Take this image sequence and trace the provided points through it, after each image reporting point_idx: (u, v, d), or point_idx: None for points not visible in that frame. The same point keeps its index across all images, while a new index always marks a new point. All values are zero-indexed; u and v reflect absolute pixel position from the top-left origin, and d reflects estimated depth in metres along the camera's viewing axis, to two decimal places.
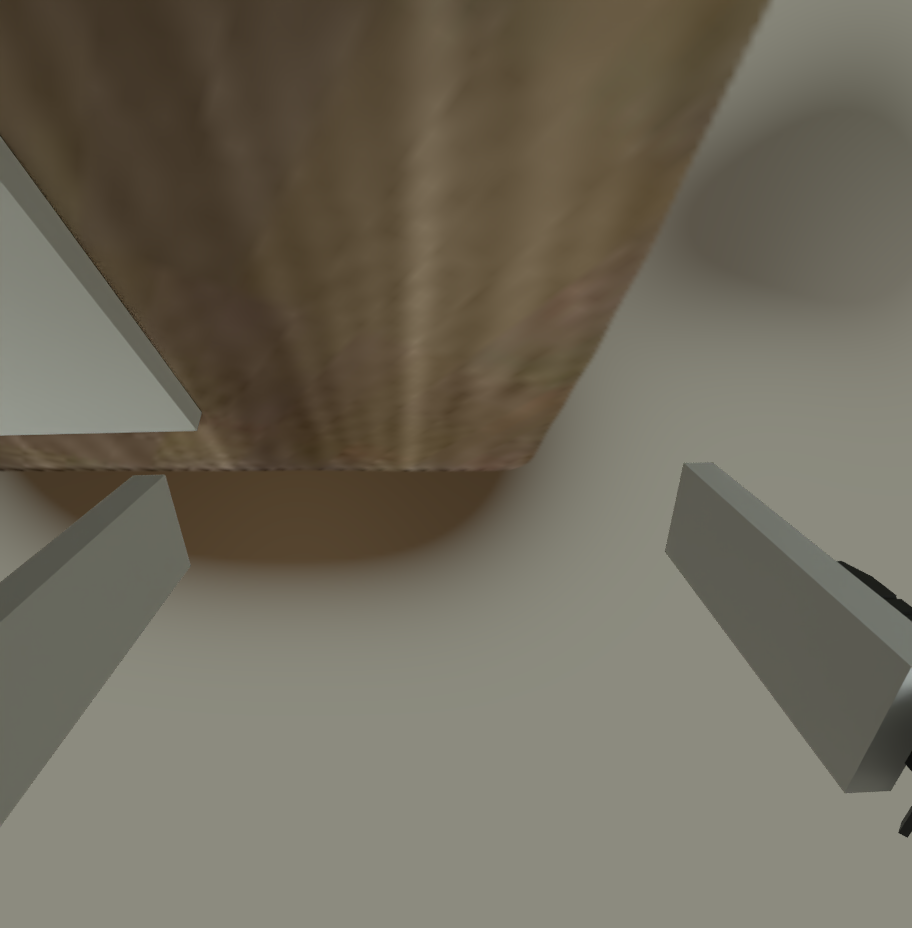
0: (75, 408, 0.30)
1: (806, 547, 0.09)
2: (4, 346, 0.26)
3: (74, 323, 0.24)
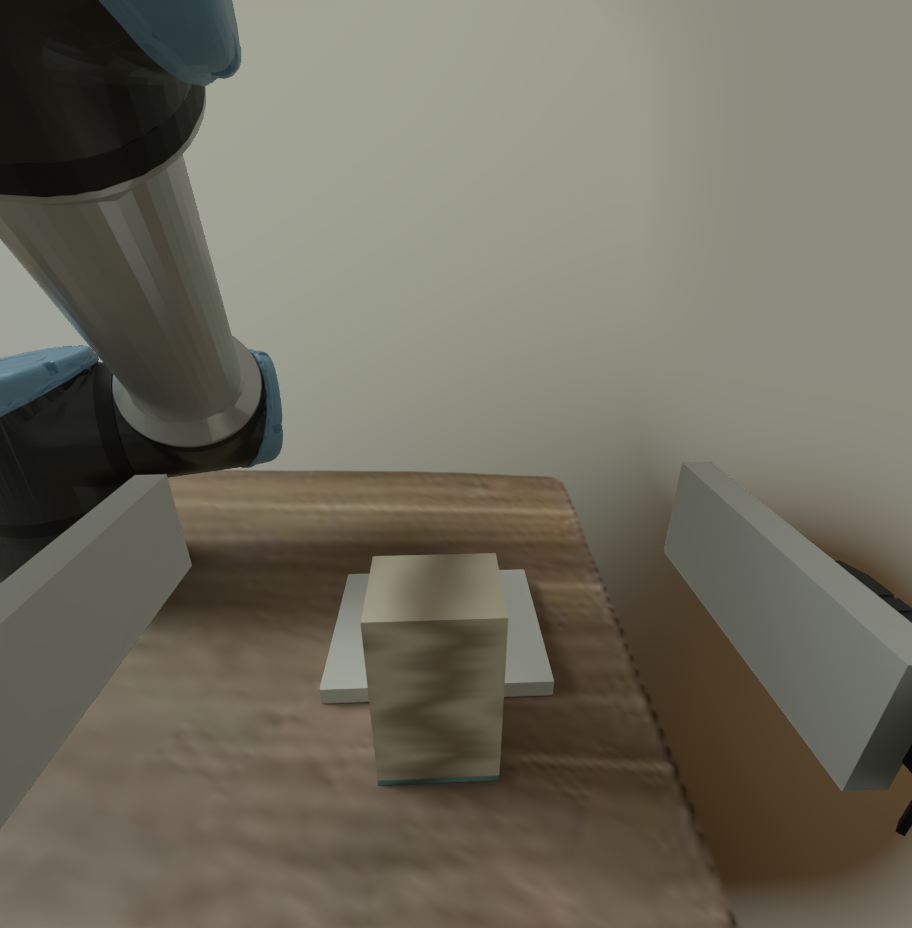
0: None
1: (803, 546, 0.09)
2: None
3: None
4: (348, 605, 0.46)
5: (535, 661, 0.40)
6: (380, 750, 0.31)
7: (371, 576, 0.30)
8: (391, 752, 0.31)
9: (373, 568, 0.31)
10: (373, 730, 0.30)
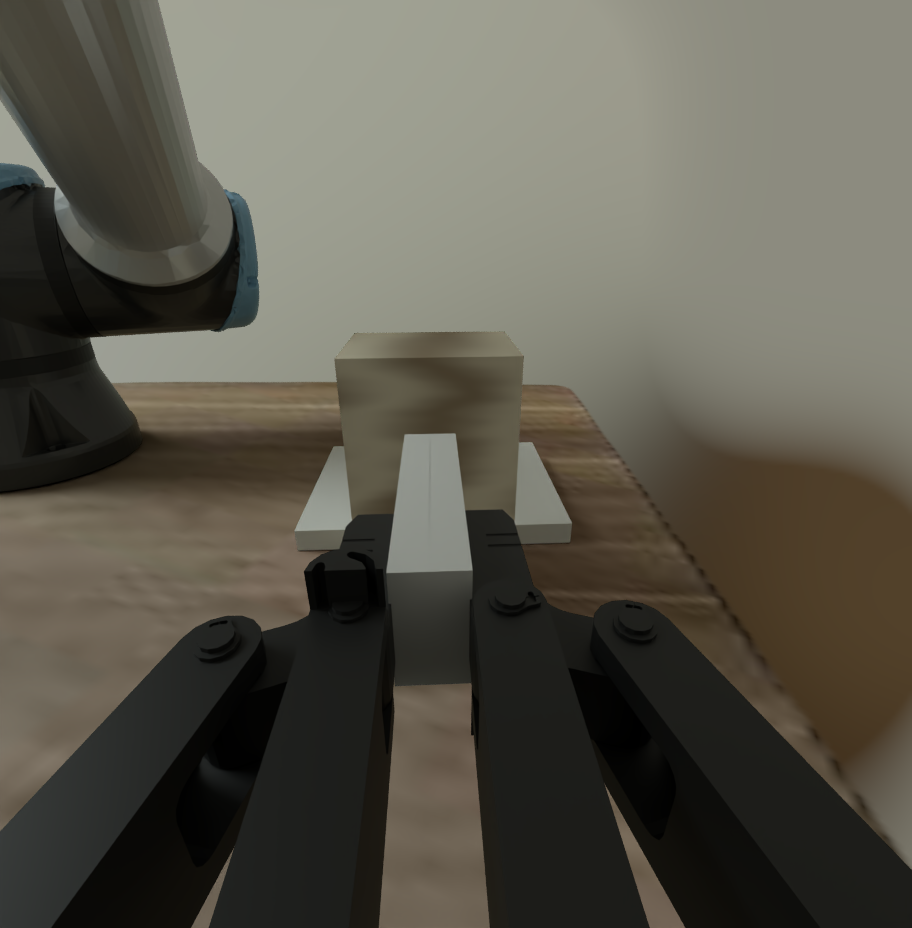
0: None
1: (452, 494, 0.11)
2: None
3: None
4: (332, 468, 0.40)
5: (549, 508, 0.34)
6: None
7: (351, 340, 0.24)
8: None
9: (354, 337, 0.25)
10: None
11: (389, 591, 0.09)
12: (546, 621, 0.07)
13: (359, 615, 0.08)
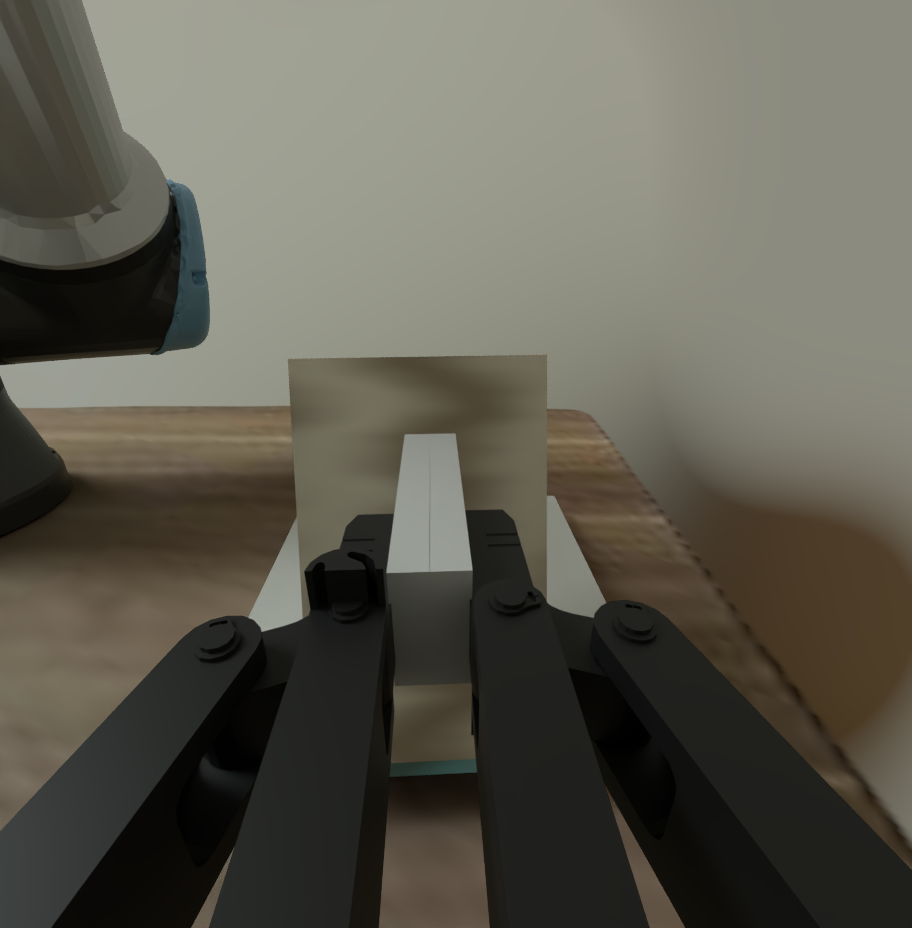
0: None
1: (452, 494, 0.11)
2: None
3: None
4: (297, 539, 0.31)
5: (588, 609, 0.25)
6: None
7: None
8: None
9: None
10: None
11: (389, 591, 0.09)
12: (546, 621, 0.07)
13: (359, 615, 0.08)
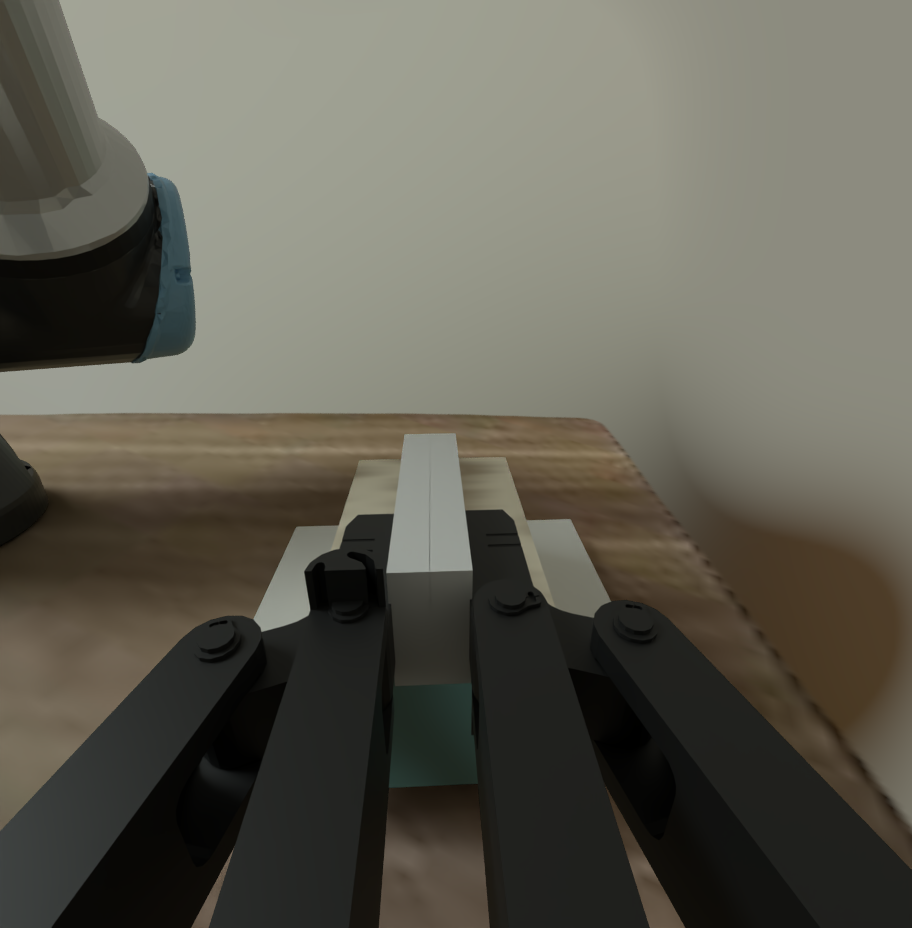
0: (550, 579, 0.27)
1: (452, 494, 0.11)
2: None
3: None
4: (289, 571, 0.28)
5: None
6: None
7: None
8: None
9: None
10: None
11: (390, 591, 0.09)
12: (546, 621, 0.07)
13: (359, 615, 0.08)
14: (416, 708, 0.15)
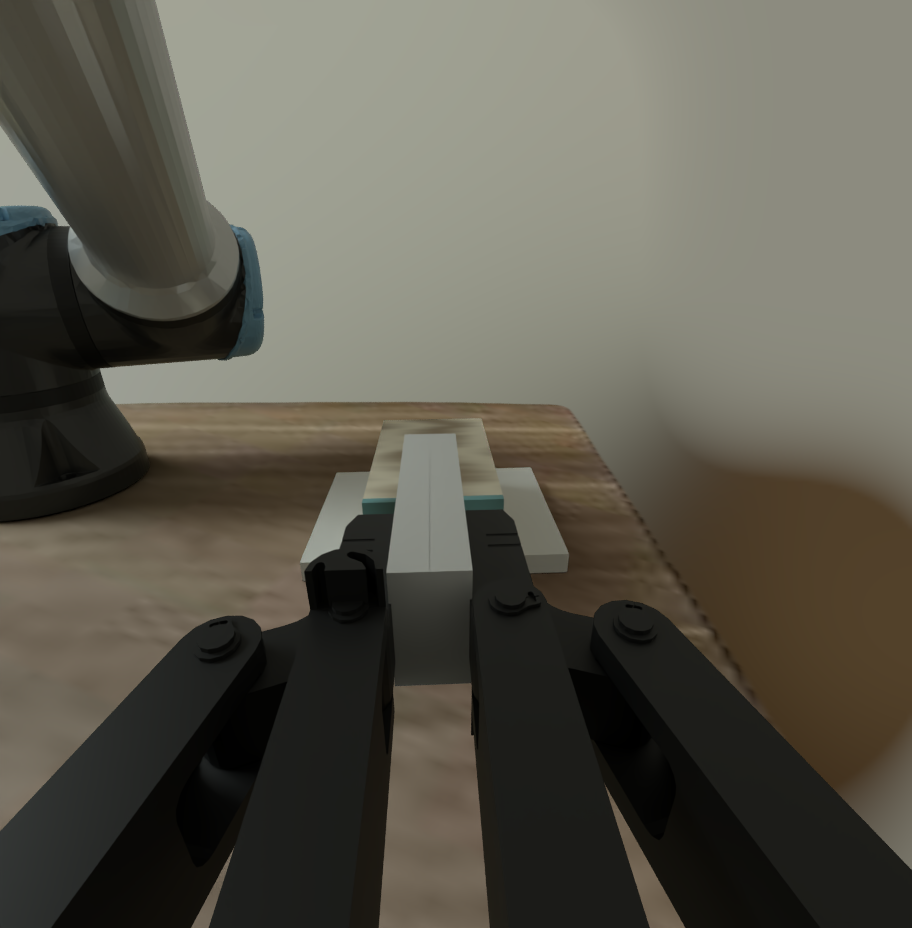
0: (511, 500, 0.40)
1: (452, 494, 0.11)
2: None
3: None
4: (335, 496, 0.41)
5: (546, 538, 0.35)
6: (374, 475, 0.31)
7: None
8: (385, 477, 0.30)
9: None
10: (373, 463, 0.32)
11: (389, 591, 0.09)
12: (546, 621, 0.07)
13: (359, 615, 0.08)
14: None
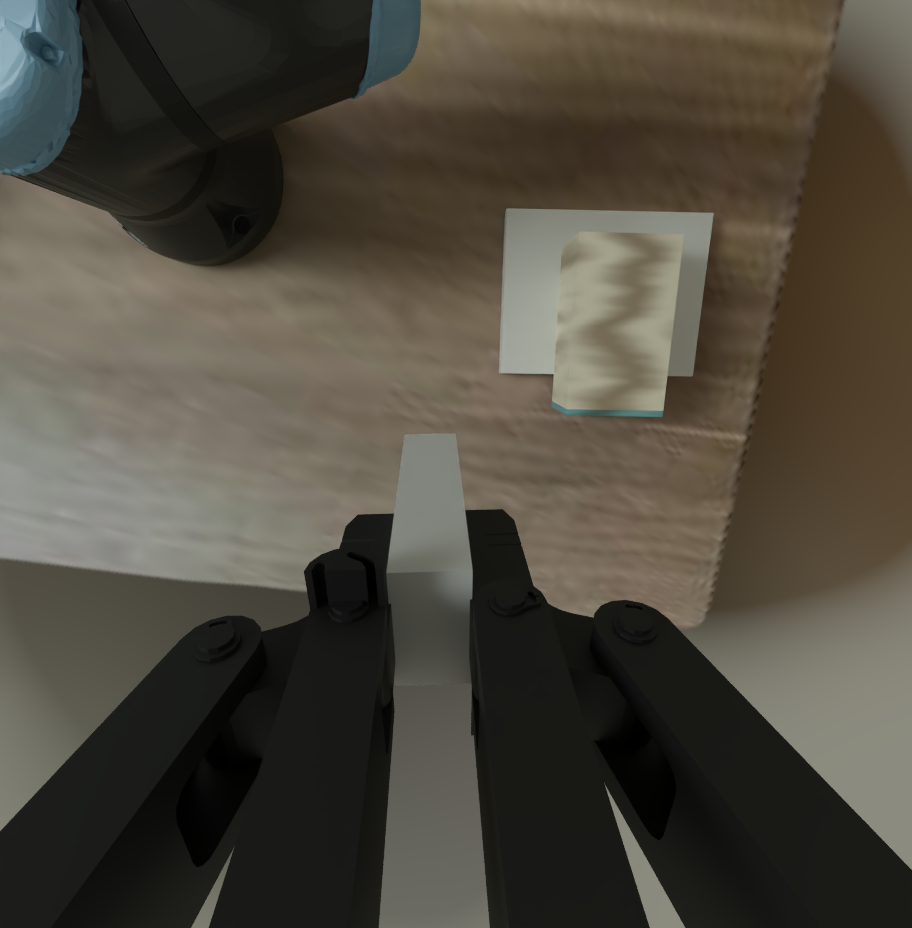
0: None
1: (452, 494, 0.11)
2: None
3: None
4: (512, 266, 0.43)
5: (683, 354, 0.45)
6: (573, 372, 0.40)
7: None
8: (582, 375, 0.40)
9: None
10: (571, 348, 0.39)
11: (389, 591, 0.09)
12: (546, 621, 0.07)
13: (359, 615, 0.08)
14: None
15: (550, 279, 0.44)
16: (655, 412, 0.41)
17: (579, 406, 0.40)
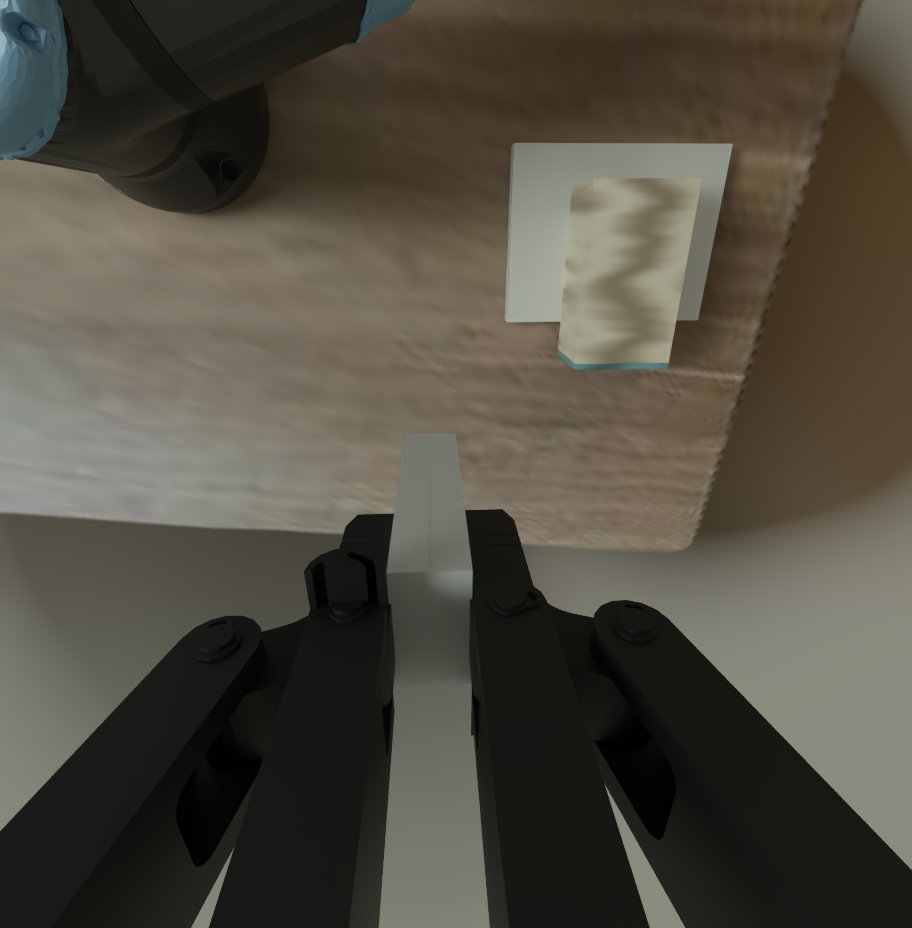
0: None
1: (452, 494, 0.11)
2: None
3: (612, 169, 0.40)
4: (520, 209, 0.41)
5: (690, 297, 0.45)
6: (583, 327, 0.40)
7: (580, 183, 0.39)
8: (591, 330, 0.40)
9: (578, 184, 0.40)
10: (581, 303, 0.39)
11: (389, 591, 0.09)
12: (546, 621, 0.07)
13: (359, 615, 0.08)
14: None
15: (559, 222, 0.42)
16: (661, 364, 0.41)
17: (587, 360, 0.41)
